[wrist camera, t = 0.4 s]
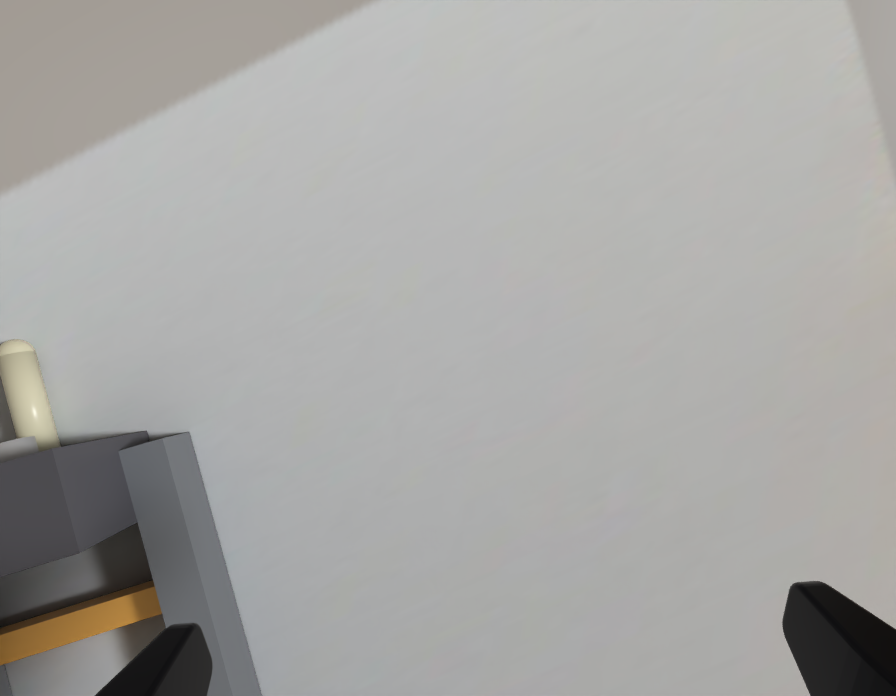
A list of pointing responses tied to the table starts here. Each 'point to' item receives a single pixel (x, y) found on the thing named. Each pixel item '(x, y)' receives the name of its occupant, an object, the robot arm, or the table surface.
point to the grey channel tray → (111, 530)
